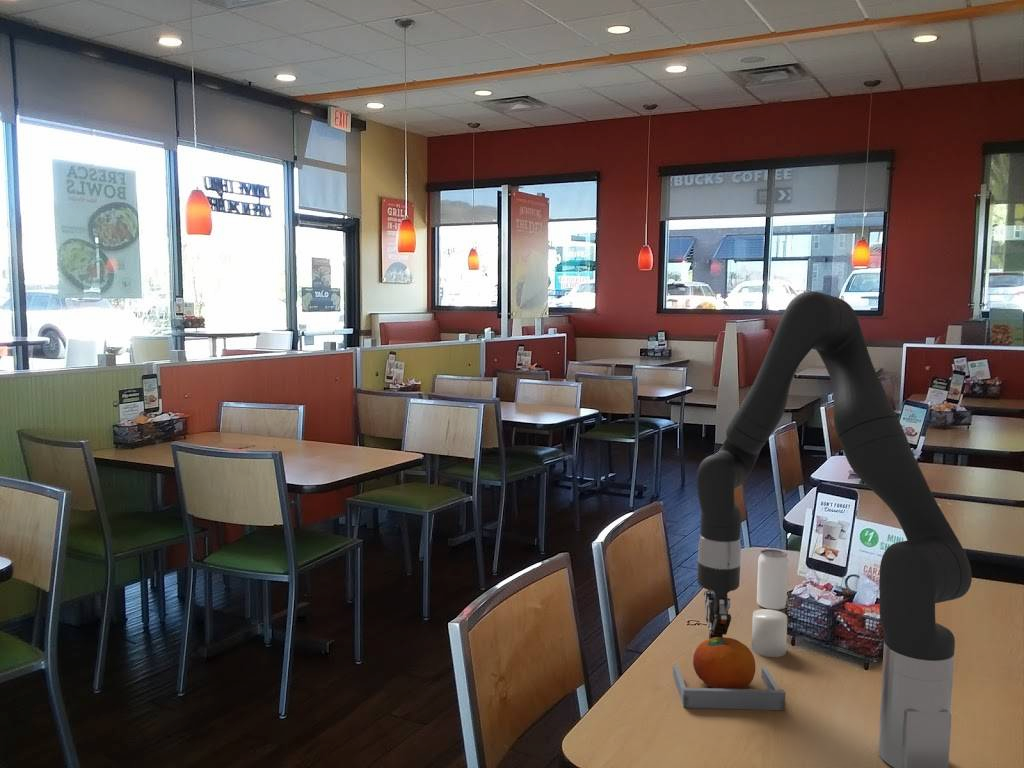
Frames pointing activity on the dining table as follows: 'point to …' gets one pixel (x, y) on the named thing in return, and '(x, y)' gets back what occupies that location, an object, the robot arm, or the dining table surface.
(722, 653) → the fruit
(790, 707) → the dining table surface
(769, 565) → the can
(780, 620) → the white rounded cube
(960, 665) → the dining table surface
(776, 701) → the grey u-shaped bracket
